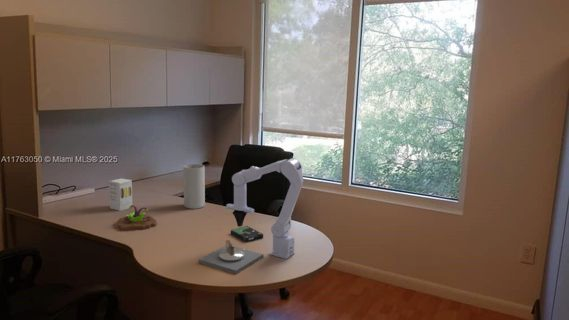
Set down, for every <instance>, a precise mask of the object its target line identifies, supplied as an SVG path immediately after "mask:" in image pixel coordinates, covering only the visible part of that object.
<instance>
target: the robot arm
mask: <svg viewBox="0 0 569 320" xmlns="http://www.w3.org/2000/svg"><path fill="white" fill-rule="evenodd" d="M272 172H278V174H279V173H280V174H282V175H283V176H284V177H285V178H286V179H287V180H288V181H289V184H290V185H289V188H288V190H287V194H286V196H285V198H284V202H283V204H282V206H281V207H282V208H281V210H280V213H279V216H278V217H277V218H276V220H275V222H274V224H273V225H272V226H271V229H270V231H271V234H272V251H270V252H268V255H270V256H275V257H278V258H281V259H285V260H286V259H288V258H290V257H291V256H293V255H295V254H296V252H295V237H292V236H291V235H290V232H289V230H290V229H291V227H292V225H291V222H292V214H293V212H294V209H295V207H296V203H297V201H298V198H299V196H300V193H301V190H302V188H303V185H304V176H303V165H302V164H301V162H300V161H299V160H298V158H296V157H292V158H289V159H287V158H285V159H282V160H277V161H276V162H272V163H270V164H267V165H265V166H263V167H262V166H261V167H258V166H254V165H252V166H250V168H248V169H247V168H246V169H242V170H241V171H239V172H236V173H234V174H233V175H232V176H231V182H232V183H233V203H227V204H226V205H225V206H226V209H227V210H233V211H232V214H233V217H234V218H235V221H236V225H237V227H238V228H240V227H243V225H244V220H245V218H246V216H247V215H248V214H250V215H252V214H255V209H254V208H252V207H249V206H248V205H247V183H250V182H254V181H256V180H259V179H261V177H262V176H263V175H265V174H266V175H267V174H269V173H272Z"/></svg>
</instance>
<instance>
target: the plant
mask: <svg viewBox="0 0 569 320" xmlns="http://www.w3.org/2000/svg"><path fill="white" fill-rule="evenodd" d="M133 208H134V211H133V212H132V213H131V212H130V213H129V214H125V216H122V217H119V219H118V220H117V221H116V223H115V224H116V228H117V229H118V228H119V230H121V232H130V231H140V230H141V231H143V230H144V231H145V230H149V229H151V228H154V227H156V226H157V224H158V222H157V220H156V219H155V218H154V217H153V216H152V215H148V214H146V212H148V211H149V209H148V208H147V207H140V209H138V207H137V206H135V205H133V204H132V205H131V206H130V207H129V209H130V210H131V209H133ZM143 209H145V212H142V210H143ZM129 230H130V231H129Z"/></svg>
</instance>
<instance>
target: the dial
mask: <svg viewBox="0 0 569 320" xmlns="http://www.w3.org/2000/svg"><path fill="white" fill-rule="evenodd" d="M225 246H226V248H227V249H226V250H223V251H221V252H220V253H219V258H220V259H221V260H223V261H229V262H233V261H239V260H241V259H243V258H244V252H243V251H242V250H239V249H234V247H236V246H235V244H233V243H232V242H231V241H230V240H229V239H228V240H225Z"/></svg>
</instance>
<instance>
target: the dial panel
mask: <svg viewBox="0 0 569 320" xmlns="http://www.w3.org/2000/svg"><path fill="white" fill-rule="evenodd" d="M226 249H227V248H226V245H224V246H222V247H220V248H219V249H216V250H214V251H212V252H210V253H208V254H207V255H204V256H202V257H201V258H199V259H198V263H199V264H202V265H206V266H209V267H212V268H216V269H219V270H222V271H225V272H228V273H232V274H235V275H238V274H239V273H241V272H242V271H243V270H245V269H247V268H249V267H250V266H251V265H254V264H255V263H257V262H259V261H260V260H262V259H264V254H263V253H259V252H256V251H252V250H248V249H246V248H242V247H237V246H235V247H234V249H239V250H242V251H243V252H244V258H243V259H241V260H239V261H233V262H229V261H223V260H221V259H220V258H219V253H220V252H221V251H223V250H226Z"/></svg>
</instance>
